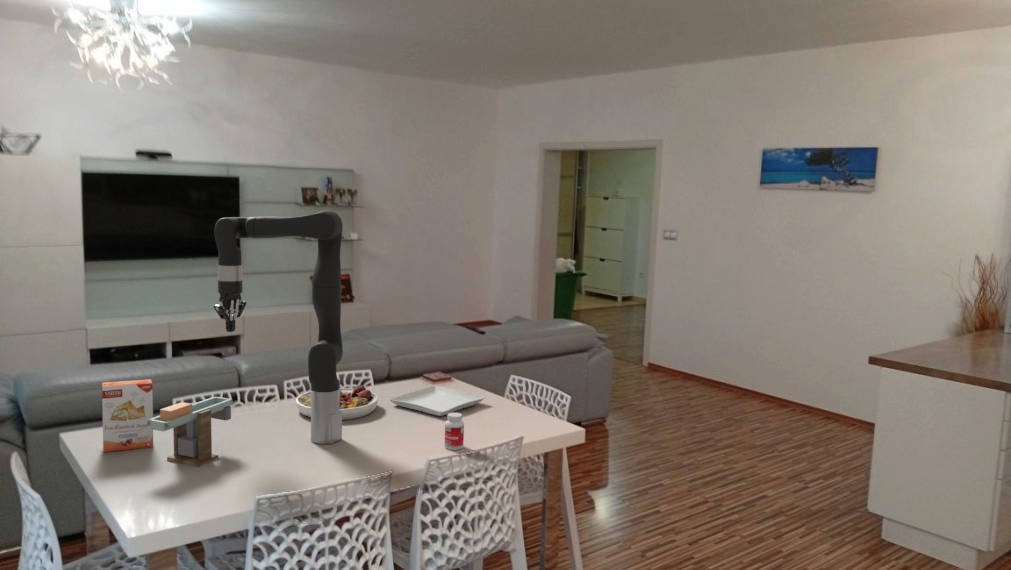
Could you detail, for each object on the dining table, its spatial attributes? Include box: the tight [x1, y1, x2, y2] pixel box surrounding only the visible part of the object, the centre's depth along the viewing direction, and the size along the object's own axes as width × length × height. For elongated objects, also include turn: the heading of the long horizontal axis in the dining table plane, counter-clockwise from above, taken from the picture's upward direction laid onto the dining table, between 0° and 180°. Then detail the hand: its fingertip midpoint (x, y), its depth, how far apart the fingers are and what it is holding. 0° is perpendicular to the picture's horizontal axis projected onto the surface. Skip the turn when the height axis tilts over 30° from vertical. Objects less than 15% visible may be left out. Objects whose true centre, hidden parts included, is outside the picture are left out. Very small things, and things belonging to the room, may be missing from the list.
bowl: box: [295, 384, 379, 421], centre depth 277 cm, size 30×30×8 cm
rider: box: [159, 401, 193, 422], centre depth 214 cm, size 4×8×4 cm, turn 158°
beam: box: [148, 396, 234, 457], centre depth 221 cm, size 7×26×14 cm, turn 158°
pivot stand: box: [166, 410, 219, 468], centre depth 221 cm, size 12×8×16 cm, turn 68°
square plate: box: [389, 385, 486, 417], centre depth 288 cm, size 27×27×4 cm
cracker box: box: [101, 378, 154, 453], centre depth 229 cm, size 14×6×21 cm, turn 117°
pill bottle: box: [444, 412, 465, 451], centre depth 240 cm, size 6×6×11 cm
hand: (230, 331), depth 241 cm, fingers closed
